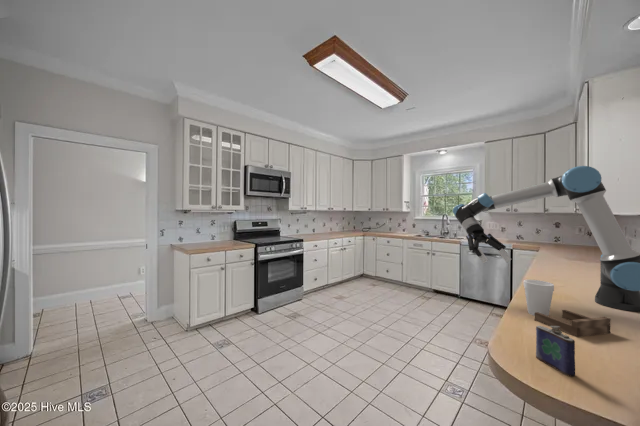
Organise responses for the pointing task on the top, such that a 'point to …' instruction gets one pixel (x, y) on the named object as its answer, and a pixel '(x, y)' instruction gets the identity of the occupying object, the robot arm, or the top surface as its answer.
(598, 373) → the top surface
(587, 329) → the corral
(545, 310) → the foam cup
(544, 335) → the flask
